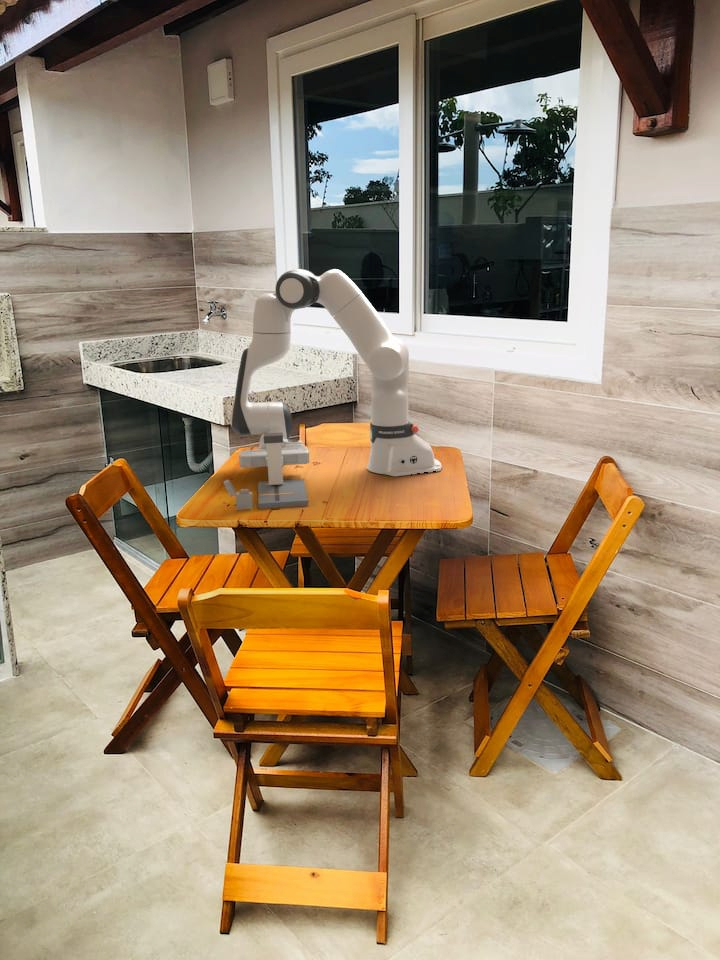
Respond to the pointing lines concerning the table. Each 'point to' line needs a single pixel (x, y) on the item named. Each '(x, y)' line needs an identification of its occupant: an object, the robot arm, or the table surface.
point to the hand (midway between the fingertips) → (274, 464)
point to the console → (282, 494)
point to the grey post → (274, 457)
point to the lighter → (240, 496)
